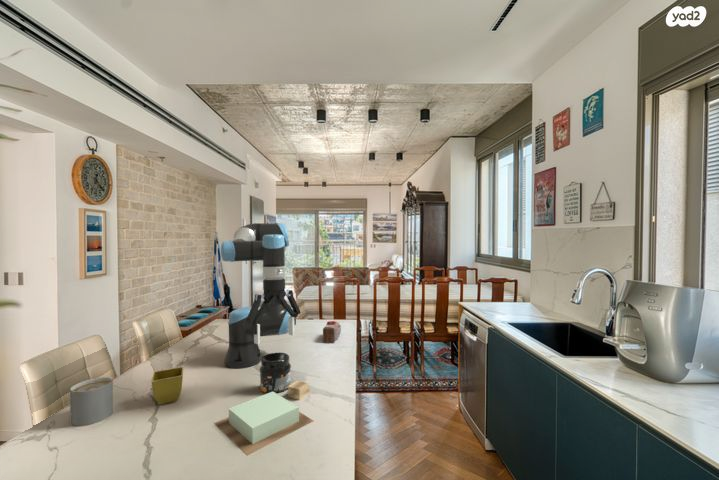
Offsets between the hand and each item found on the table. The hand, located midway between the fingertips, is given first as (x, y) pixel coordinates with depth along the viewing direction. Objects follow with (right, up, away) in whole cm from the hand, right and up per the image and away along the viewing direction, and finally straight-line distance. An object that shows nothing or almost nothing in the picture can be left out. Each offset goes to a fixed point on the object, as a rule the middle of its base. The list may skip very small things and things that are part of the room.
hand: (275, 339), depth 113 cm
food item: (+15, -18, +58) cm, 63 cm away
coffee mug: (-52, -19, -13) cm, 57 cm away
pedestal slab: (+3, -17, -22) cm, 28 cm away
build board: (+3, -18, -22) cm, 28 cm away
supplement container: (0, -19, 0) cm, 19 cm away
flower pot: (-34, -19, -5) cm, 40 cm away
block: (+9, -18, -6) cm, 22 cm away
